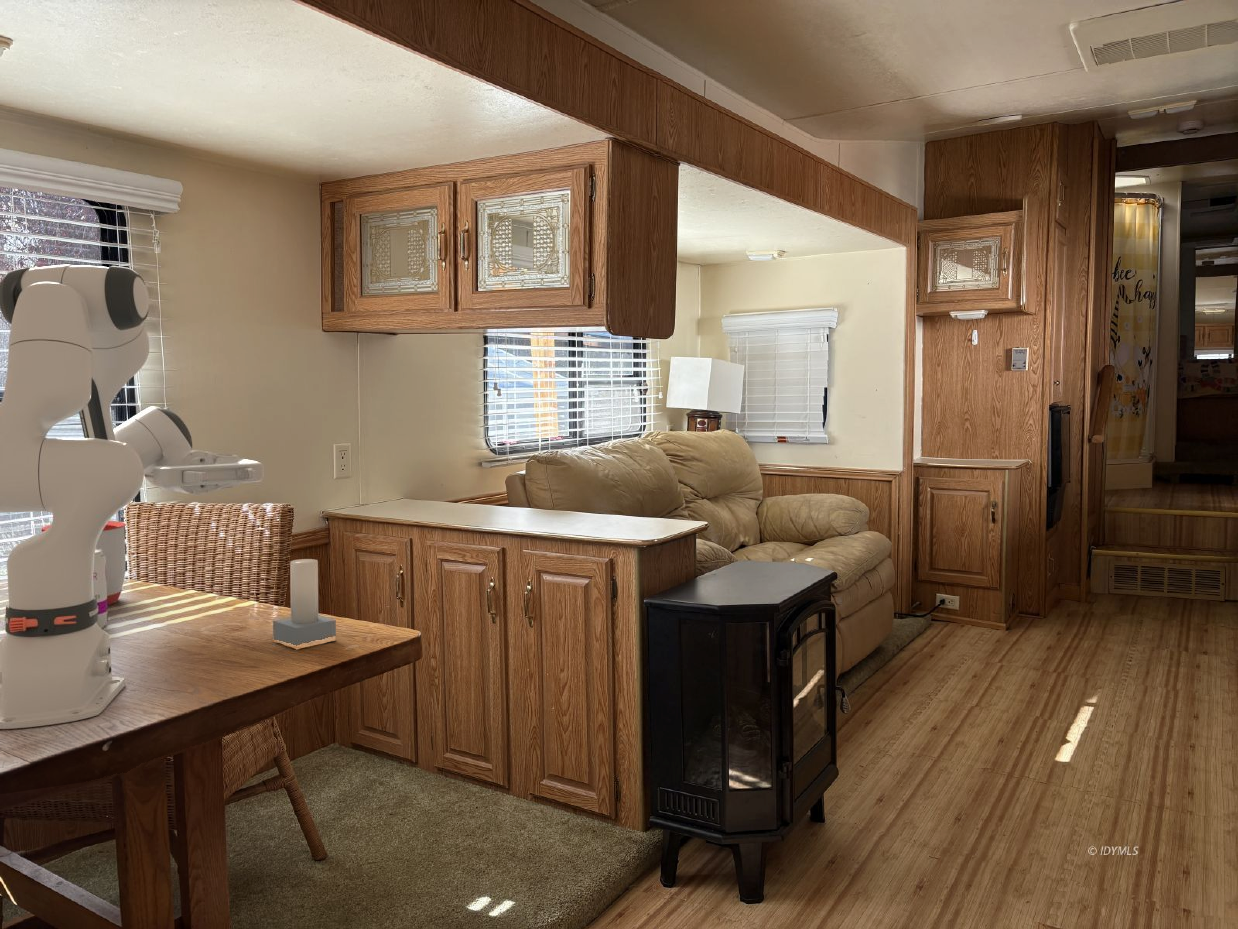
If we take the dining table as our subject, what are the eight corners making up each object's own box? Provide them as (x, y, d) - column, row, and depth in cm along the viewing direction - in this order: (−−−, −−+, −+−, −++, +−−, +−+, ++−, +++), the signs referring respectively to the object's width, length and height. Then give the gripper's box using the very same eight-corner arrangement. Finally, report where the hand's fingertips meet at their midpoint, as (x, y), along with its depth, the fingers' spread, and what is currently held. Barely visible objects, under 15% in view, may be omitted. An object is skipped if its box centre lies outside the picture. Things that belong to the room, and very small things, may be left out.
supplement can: (92, 621, 187) (89, 546, 185) (116, 626, 182) (114, 550, 181) (50, 630, 180) (47, 552, 178) (74, 636, 175) (71, 557, 174)
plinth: (336, 641, 174) (335, 620, 173) (296, 650, 168) (296, 628, 167) (312, 633, 179) (311, 613, 179) (273, 642, 173) (273, 620, 172)
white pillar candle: (319, 622, 172) (319, 563, 171) (292, 624, 170) (291, 564, 169) (316, 616, 176) (316, 558, 175) (289, 618, 174) (289, 559, 173)
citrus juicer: (21, 607, 197) (17, 513, 196) (105, 592, 212) (102, 505, 210) (58, 618, 189) (54, 519, 187) (143, 602, 203) (140, 510, 201)
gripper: (140, 458, 178) (172, 461, 169) (242, 454, 194) (277, 457, 185) (140, 491, 179) (173, 496, 170) (243, 485, 194) (278, 489, 185)
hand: (228, 476), depth 177 cm, fingers open, 8 cm apart
